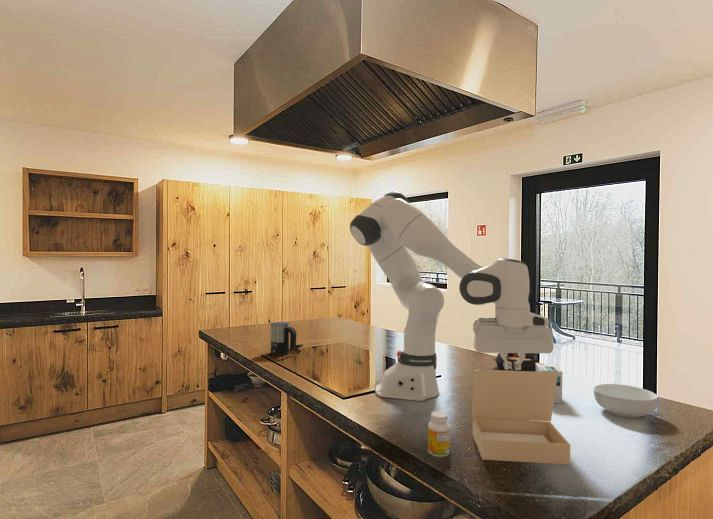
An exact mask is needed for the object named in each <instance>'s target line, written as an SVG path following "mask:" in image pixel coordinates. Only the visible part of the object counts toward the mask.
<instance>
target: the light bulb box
mask: <svg viewBox="0 0 713 519" xmlns="http://www.w3.org/2000/svg"><path fill="white" fill-rule="evenodd" d="M536 372H557V373H558V377H557V384H556V391H555V397H554V404H563V371H562V370H561V369H560V368H559V367H557V365H556V364H555V363H543V362H539V363H536Z"/></svg>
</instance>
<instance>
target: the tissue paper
mask: <svg viewBox="0 0 713 519" xmlns="http://www.w3.org/2000/svg"><path fill="white" fill-rule="evenodd" d="M482 434H483V437H484V439H487V440H507V441H526V442H545V443H549V441H548V440H547V439H546V437H545V436H544V435H532V434H513V433H493V432H482Z"/></svg>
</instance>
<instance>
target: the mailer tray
mask: <svg viewBox="0 0 713 519" xmlns="http://www.w3.org/2000/svg"><path fill="white" fill-rule="evenodd" d="M482 432H493V433H513V434H532V435H544V436H545V437H546V439H547V440H548V441H549V443H545V442H526V441H507V440H487V439H484V437H483V434H482ZM472 437H473V440H474V442H475V444H476V448H477V449H478V453H479V455H480V457H481V460H483V461H484V460H485V461H502V462H515V463H516V462H517V463H531V464H532V463H537V464H550V465H551V464H553V465H554V464H555V465H571V443H570V442H569V441H568V440H567V439H566V438H565V437H564V436H563V435H562V433H561V432H560V431H558V429H557V428H556V427H555V426H554V424H553V423H552V422H551V421H536V420H515V419H494V418H473V417H472Z"/></svg>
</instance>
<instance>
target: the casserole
mask: <svg viewBox="0 0 713 519" xmlns="http://www.w3.org/2000/svg"><path fill="white" fill-rule="evenodd" d="M519 357H520V356H518V353H508V357H506V359H507V361H509V362H511V363H512V369H513V371H532V372H536V363H540V361H539V360H538V358H537V356H536V355H533V354H531V353H525V358H524V360H523V362H522V363H521V370H515V369H514V362H517V360H518V358H519ZM494 362H496V366H494V367H493V368H492V370H505V369H504V366H503V362H504V360H503V358H502V357H501V353H497V355H496V357H495V358H494Z"/></svg>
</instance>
